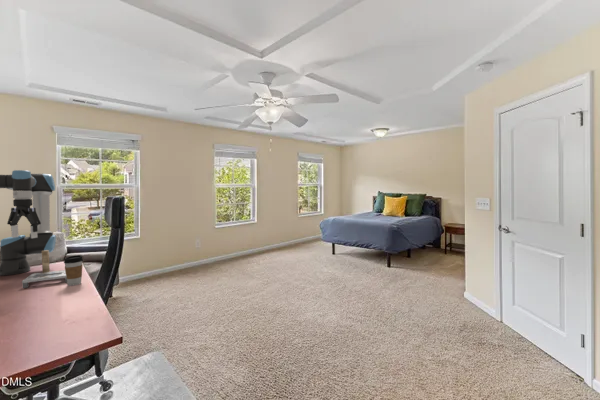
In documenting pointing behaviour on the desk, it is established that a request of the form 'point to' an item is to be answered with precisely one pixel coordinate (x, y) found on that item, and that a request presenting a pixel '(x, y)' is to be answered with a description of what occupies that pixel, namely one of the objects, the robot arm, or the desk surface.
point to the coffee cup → (73, 269)
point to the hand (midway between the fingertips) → (24, 237)
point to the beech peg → (45, 261)
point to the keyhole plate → (46, 277)
